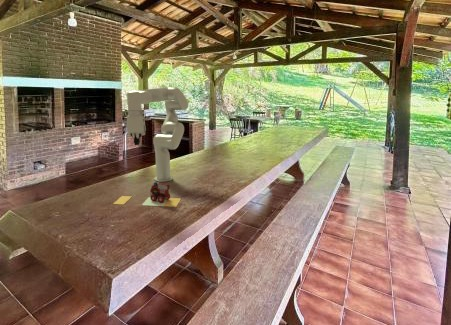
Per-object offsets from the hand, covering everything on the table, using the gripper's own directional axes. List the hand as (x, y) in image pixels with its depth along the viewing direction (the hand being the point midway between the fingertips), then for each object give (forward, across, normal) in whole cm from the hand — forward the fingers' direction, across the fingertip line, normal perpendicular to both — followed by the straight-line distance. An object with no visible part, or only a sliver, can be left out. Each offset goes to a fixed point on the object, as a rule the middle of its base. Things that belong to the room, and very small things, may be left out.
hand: (136, 144), depth 172 cm
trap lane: (+29, -10, +16) cm, 35 cm away
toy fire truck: (+29, -17, +14) cm, 36 cm away
